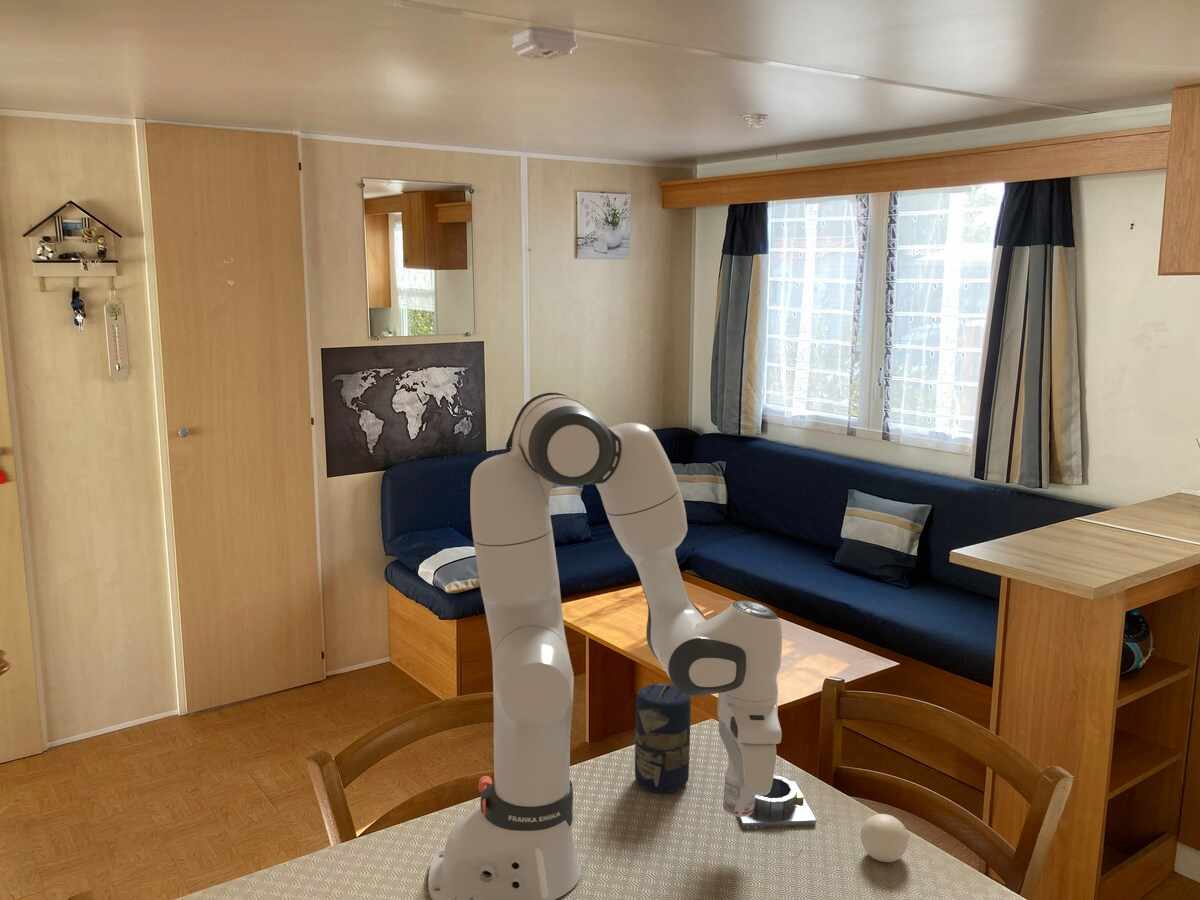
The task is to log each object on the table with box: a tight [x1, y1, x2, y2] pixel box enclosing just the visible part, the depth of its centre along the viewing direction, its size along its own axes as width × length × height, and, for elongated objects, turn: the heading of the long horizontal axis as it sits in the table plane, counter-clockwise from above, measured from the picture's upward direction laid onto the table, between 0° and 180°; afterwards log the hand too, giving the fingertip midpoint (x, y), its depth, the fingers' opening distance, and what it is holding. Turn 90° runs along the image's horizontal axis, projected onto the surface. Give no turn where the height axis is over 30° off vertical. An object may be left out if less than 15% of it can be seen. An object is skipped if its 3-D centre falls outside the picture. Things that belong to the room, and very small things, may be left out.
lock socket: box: [738, 774, 817, 829], centre depth 162 cm, size 12×12×4 cm
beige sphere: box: [860, 813, 910, 863], centre depth 148 cm, size 7×7×7 cm
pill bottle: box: [722, 757, 755, 818], centre depth 148 cm, size 5×5×8 cm
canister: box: [634, 682, 692, 793], centre depth 168 cm, size 10×10×18 cm
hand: (739, 790), depth 149 cm, fingers closed on pill bottle, 5 cm apart
